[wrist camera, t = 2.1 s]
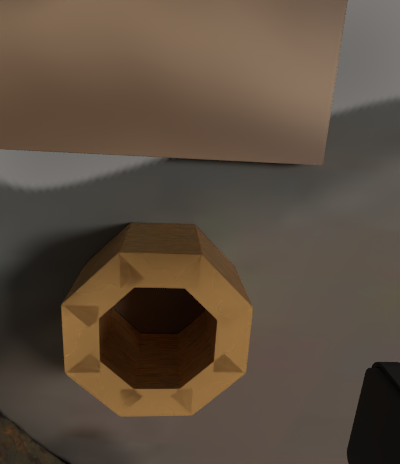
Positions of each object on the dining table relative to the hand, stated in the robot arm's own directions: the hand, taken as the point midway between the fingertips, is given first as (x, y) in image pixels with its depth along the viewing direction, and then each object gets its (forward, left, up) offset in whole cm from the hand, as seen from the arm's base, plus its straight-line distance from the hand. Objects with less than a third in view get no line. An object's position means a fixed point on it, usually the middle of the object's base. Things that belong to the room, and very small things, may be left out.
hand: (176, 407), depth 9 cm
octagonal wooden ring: (-1, +1, -7) cm, 7 cm away
